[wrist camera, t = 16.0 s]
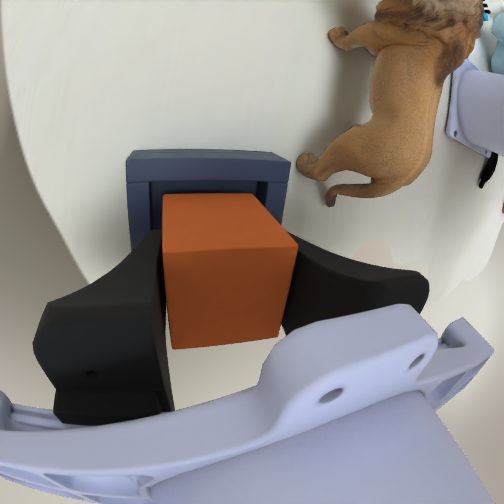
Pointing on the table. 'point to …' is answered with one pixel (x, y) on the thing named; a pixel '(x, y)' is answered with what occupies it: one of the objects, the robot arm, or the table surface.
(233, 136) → the table surface
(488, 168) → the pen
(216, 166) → the blue square tray
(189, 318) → the orange rectangular block
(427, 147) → the lion figurine
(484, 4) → the circuit board
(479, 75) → the robot arm
